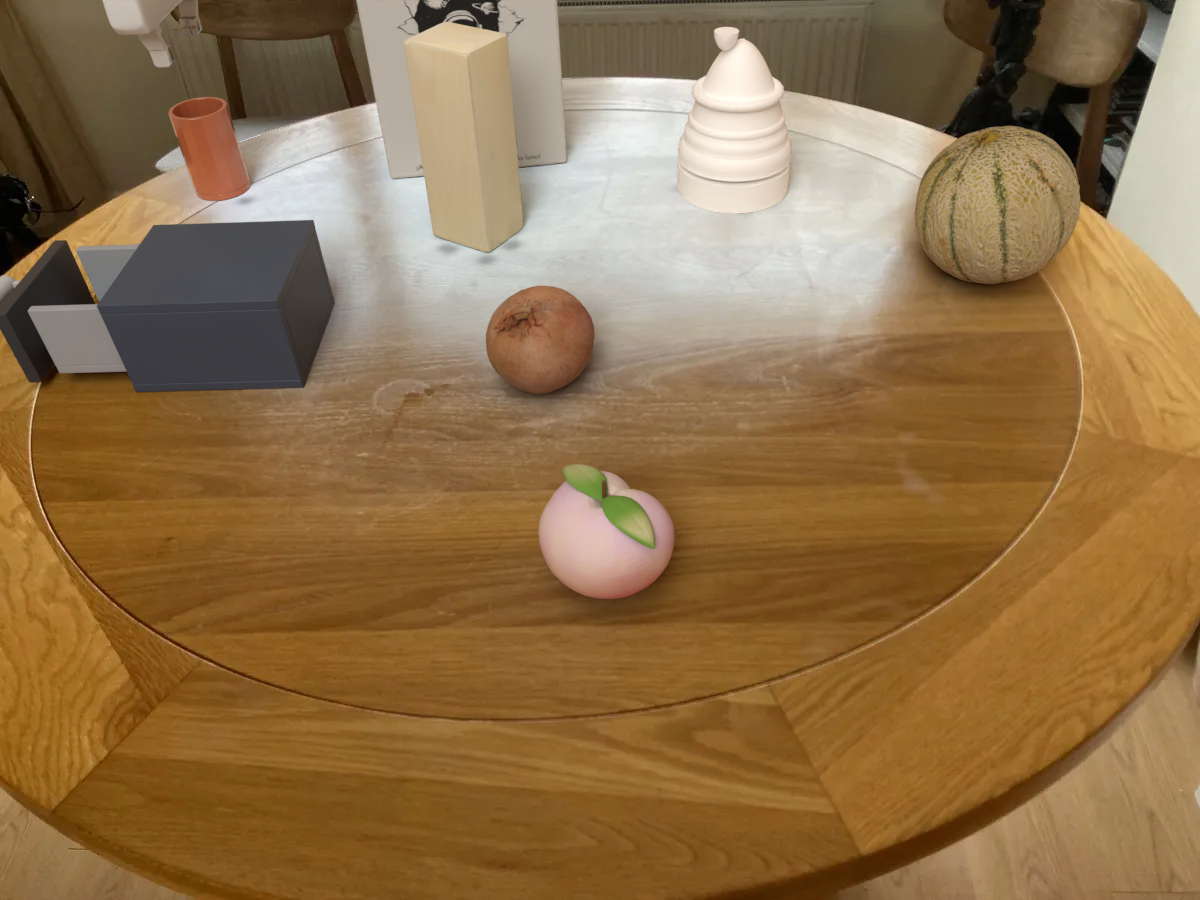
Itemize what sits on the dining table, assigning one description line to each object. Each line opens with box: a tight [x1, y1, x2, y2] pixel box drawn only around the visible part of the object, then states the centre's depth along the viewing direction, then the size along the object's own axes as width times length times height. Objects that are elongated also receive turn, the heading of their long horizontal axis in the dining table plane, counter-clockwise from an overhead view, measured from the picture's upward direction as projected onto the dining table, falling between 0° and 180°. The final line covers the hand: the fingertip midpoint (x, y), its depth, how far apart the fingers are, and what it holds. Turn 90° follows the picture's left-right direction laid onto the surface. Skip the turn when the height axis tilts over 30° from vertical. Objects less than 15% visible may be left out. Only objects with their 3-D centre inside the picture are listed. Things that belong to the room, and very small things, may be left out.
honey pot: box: [676, 26, 793, 215], centre depth 106 cm, size 13×13×18 cm
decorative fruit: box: [538, 463, 676, 600], centre depth 65 cm, size 9×8×10 cm
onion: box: [485, 285, 596, 395], centre depth 83 cm, size 10×9×10 cm
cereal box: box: [355, 0, 568, 180], centre depth 112 cm, size 22×8×25 cm, turn 98°
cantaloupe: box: [914, 125, 1081, 285], centre depth 92 cm, size 15×15×15 cm
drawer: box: [0, 239, 140, 384], centre depth 89 cm, size 19×13×7 cm
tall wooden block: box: [404, 22, 524, 253], centre depth 100 cm, size 8×7×21 cm
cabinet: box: [96, 219, 336, 393], centre depth 89 cm, size 15×14×9 cm
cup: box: [167, 96, 251, 202], centre depth 113 cm, size 6×6×10 cm
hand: (180, 48), depth 106 cm, fingers open, 8 cm apart
